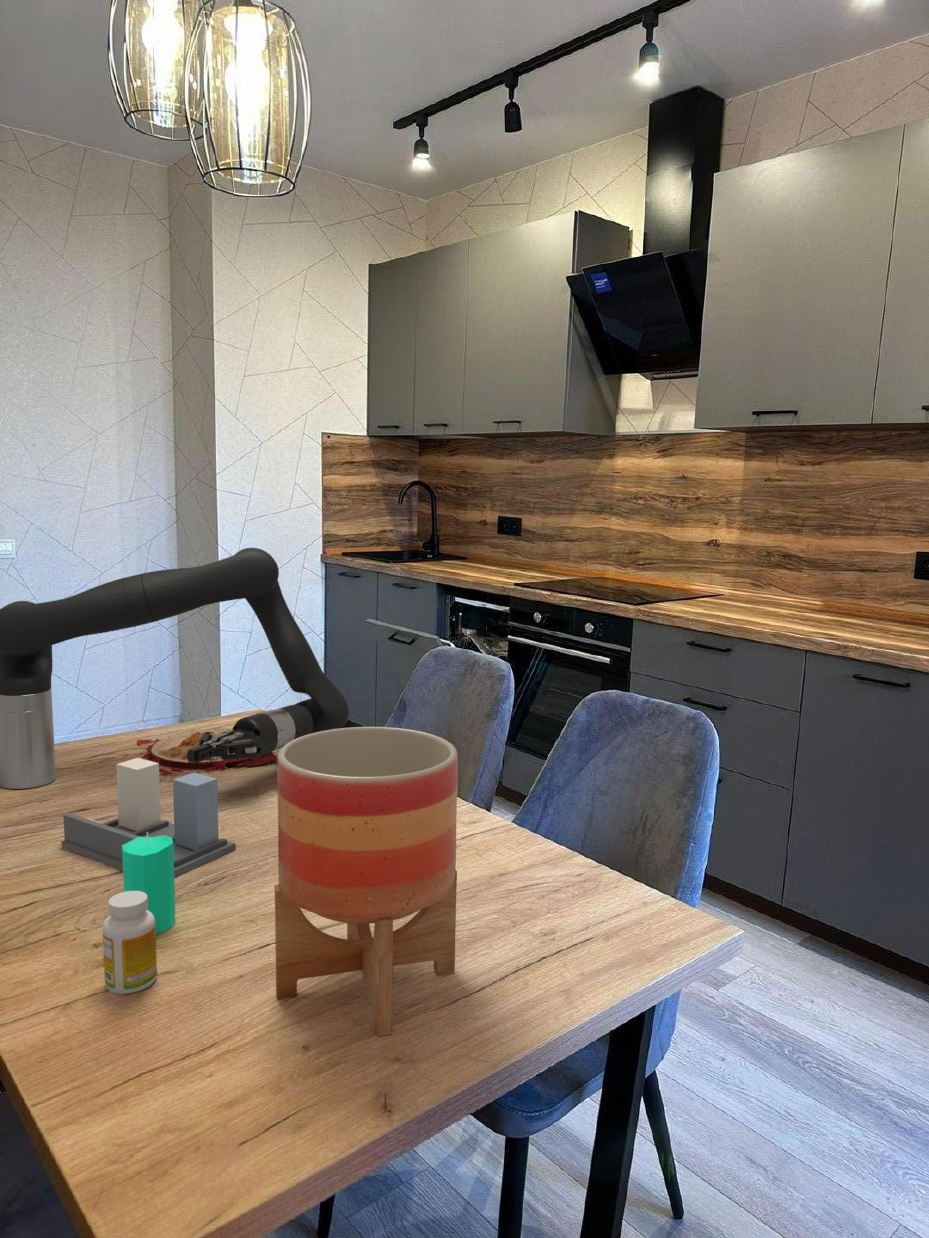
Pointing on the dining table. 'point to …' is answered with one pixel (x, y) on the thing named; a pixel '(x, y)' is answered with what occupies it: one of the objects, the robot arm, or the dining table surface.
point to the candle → (152, 876)
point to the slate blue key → (195, 811)
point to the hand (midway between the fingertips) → (190, 756)
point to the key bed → (110, 837)
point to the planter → (366, 856)
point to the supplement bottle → (129, 944)
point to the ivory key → (138, 794)
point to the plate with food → (176, 747)
